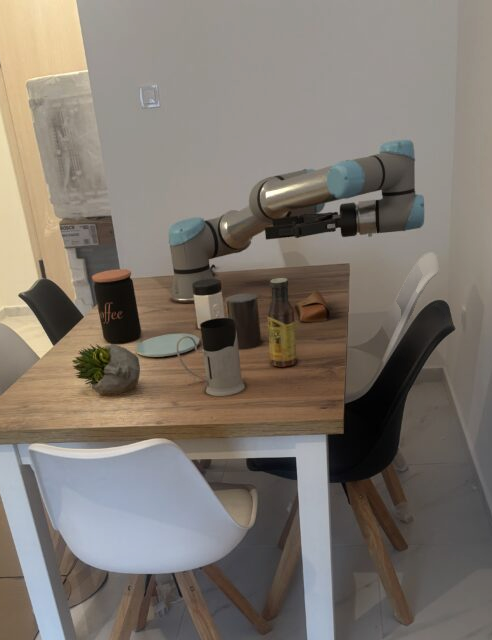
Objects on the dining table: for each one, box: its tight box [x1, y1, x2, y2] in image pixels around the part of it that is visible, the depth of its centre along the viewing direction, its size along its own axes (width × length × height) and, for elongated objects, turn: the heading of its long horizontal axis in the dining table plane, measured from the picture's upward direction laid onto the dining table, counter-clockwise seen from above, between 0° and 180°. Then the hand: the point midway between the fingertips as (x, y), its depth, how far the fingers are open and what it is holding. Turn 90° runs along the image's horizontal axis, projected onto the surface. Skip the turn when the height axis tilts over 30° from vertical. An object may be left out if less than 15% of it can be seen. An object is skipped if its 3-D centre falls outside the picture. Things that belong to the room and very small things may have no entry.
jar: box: [192, 278, 226, 330], centre depth 215 cm, size 9×8×12 cm
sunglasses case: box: [294, 290, 331, 323], centre depth 216 cm, size 18×7×7 cm, turn 2°
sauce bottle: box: [267, 277, 297, 368], centre depth 178 cm, size 7×6×20 cm
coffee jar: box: [91, 268, 142, 345], centre depth 212 cm, size 11×11×18 cm
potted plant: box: [71, 343, 141, 397], centre depth 177 cm, size 12×13×15 cm
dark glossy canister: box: [225, 293, 262, 350], centre depth 196 cm, size 8×8×12 cm
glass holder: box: [176, 317, 246, 397], centre depth 168 cm, size 9×14×15 cm, turn 111°
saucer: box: [135, 333, 201, 358], centre depth 204 cm, size 17×17×1 cm
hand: (269, 228), depth 187 cm, fingers open, 13 cm apart
